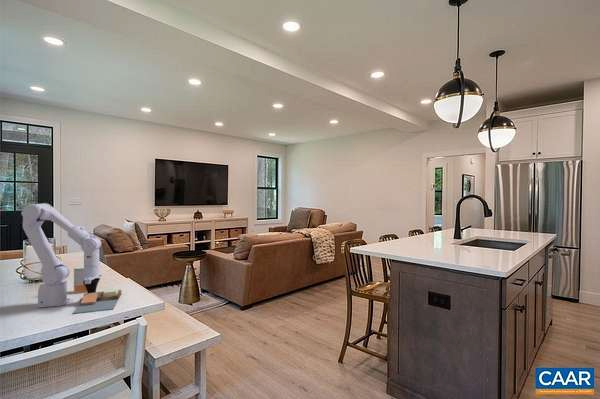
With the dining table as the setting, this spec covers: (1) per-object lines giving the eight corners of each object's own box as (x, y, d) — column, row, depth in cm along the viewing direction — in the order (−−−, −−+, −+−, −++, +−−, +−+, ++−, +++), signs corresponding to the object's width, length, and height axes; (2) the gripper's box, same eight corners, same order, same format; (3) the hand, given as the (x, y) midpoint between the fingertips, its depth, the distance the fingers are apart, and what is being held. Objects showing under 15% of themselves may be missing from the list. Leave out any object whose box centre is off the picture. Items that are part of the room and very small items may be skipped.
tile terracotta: (81, 305, 132) (81, 302, 131) (84, 295, 136) (83, 293, 135) (95, 303, 134) (95, 301, 133) (97, 294, 138) (97, 292, 137)
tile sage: (103, 296, 139) (103, 292, 139) (105, 292, 144) (105, 289, 144) (116, 294, 141) (116, 291, 141) (118, 291, 146) (118, 288, 146)
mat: (72, 314, 124) (72, 313, 124) (81, 304, 135) (81, 303, 135) (113, 309, 129) (113, 308, 129) (118, 300, 140) (118, 299, 140)
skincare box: (73, 293, 148) (73, 268, 148) (77, 290, 152) (77, 266, 152) (87, 292, 150) (87, 267, 149) (91, 289, 154) (91, 265, 154)
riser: (81, 303, 135) (81, 299, 135) (86, 297, 143) (86, 292, 143) (118, 300, 140) (118, 295, 140) (121, 293, 148) (121, 289, 148)
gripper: (98, 268, 132) (98, 300, 132) (105, 261, 146) (105, 289, 146) (78, 269, 129) (78, 302, 130) (87, 262, 143) (87, 291, 143)
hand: (91, 295), depth 138 cm, fingers closed
